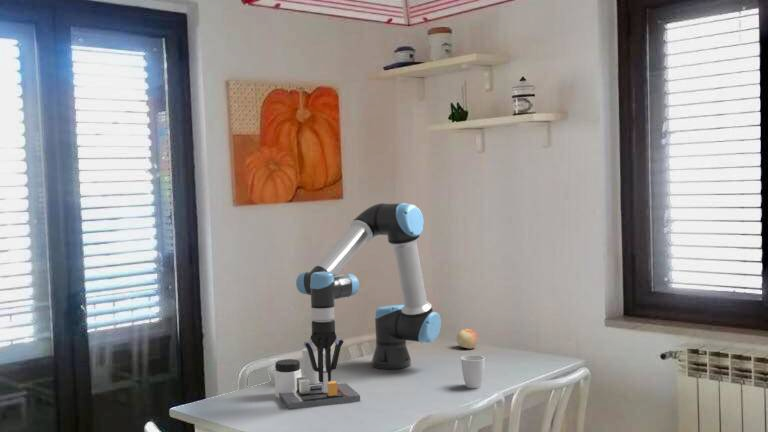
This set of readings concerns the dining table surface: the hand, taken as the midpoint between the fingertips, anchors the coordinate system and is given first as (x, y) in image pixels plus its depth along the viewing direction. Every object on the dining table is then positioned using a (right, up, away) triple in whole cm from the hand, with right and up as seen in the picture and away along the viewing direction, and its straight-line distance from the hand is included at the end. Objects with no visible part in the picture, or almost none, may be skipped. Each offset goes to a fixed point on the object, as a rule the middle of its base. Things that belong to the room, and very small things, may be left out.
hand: (325, 391), depth 265 cm
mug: (-5, -3, +29) cm, 29 cm away
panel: (-3, -4, +6) cm, 7 cm away
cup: (+50, -2, +17) cm, 53 cm away
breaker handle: (+2, -1, +1) cm, 3 cm away
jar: (-13, -4, +10) cm, 17 cm away
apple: (+54, +1, +79) cm, 96 cm away
